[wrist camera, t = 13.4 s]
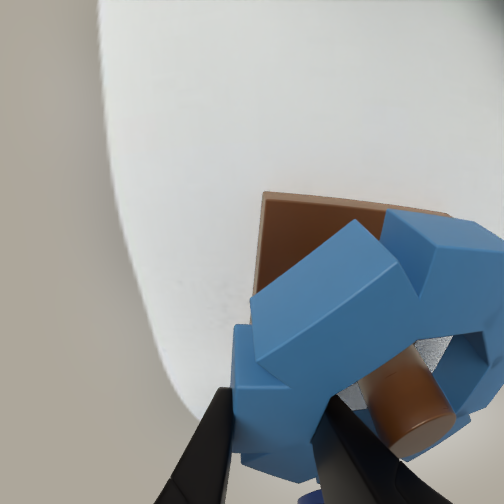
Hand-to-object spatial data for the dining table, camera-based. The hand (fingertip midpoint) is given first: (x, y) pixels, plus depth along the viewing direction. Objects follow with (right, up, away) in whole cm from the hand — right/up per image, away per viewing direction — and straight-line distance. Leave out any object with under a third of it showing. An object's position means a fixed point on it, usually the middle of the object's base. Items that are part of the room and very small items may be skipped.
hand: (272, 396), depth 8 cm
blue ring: (+4, 0, +1) cm, 4 cm away
